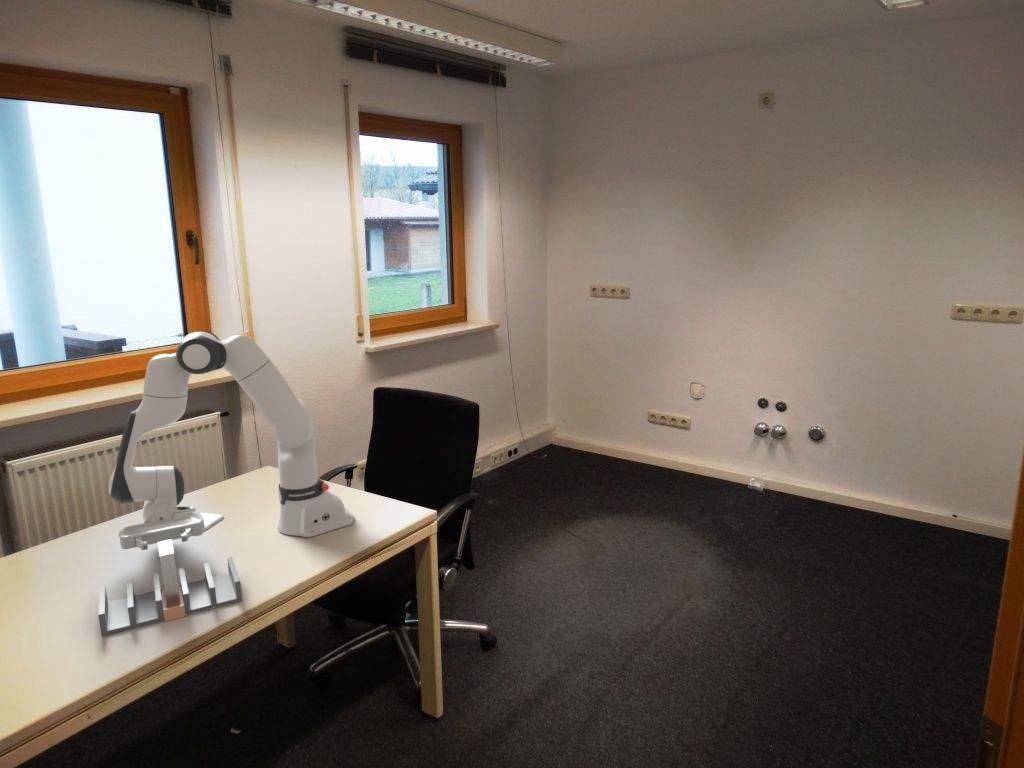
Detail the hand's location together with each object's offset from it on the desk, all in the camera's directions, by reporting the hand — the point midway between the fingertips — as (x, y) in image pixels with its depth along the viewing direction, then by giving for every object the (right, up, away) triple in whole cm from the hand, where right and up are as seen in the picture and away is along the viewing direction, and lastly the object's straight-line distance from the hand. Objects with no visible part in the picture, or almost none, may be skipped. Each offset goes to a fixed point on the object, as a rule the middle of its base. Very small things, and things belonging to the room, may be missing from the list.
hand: (164, 543), depth 177 cm
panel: (+6, -12, -9) cm, 16 cm away
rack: (+6, -13, -9) cm, 17 cm away
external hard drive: (-7, -3, +35) cm, 36 cm away
